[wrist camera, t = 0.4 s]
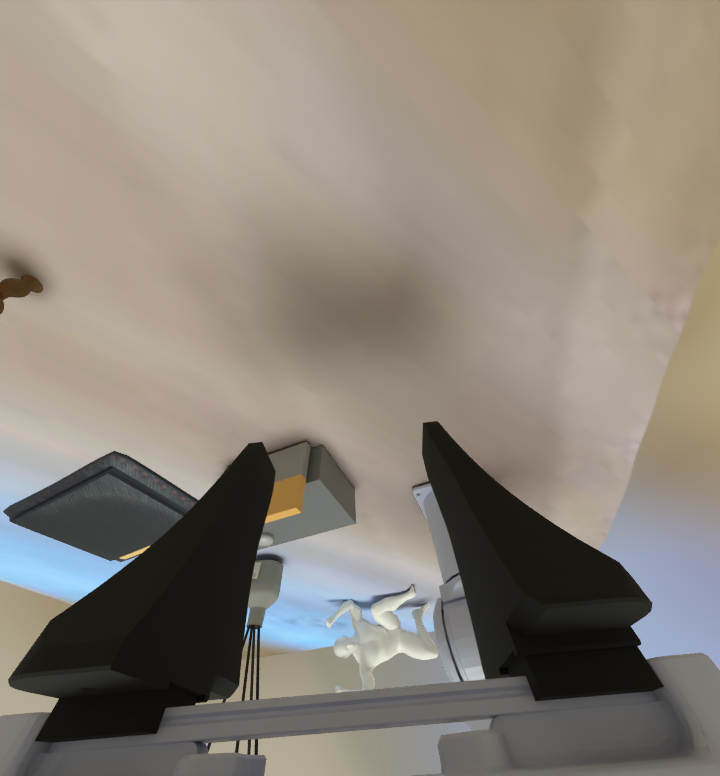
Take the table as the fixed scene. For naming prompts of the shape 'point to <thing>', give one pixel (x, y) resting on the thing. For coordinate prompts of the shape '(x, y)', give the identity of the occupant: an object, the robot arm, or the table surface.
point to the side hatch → (288, 481)
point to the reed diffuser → (259, 617)
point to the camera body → (316, 503)
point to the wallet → (105, 508)
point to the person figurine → (382, 636)
